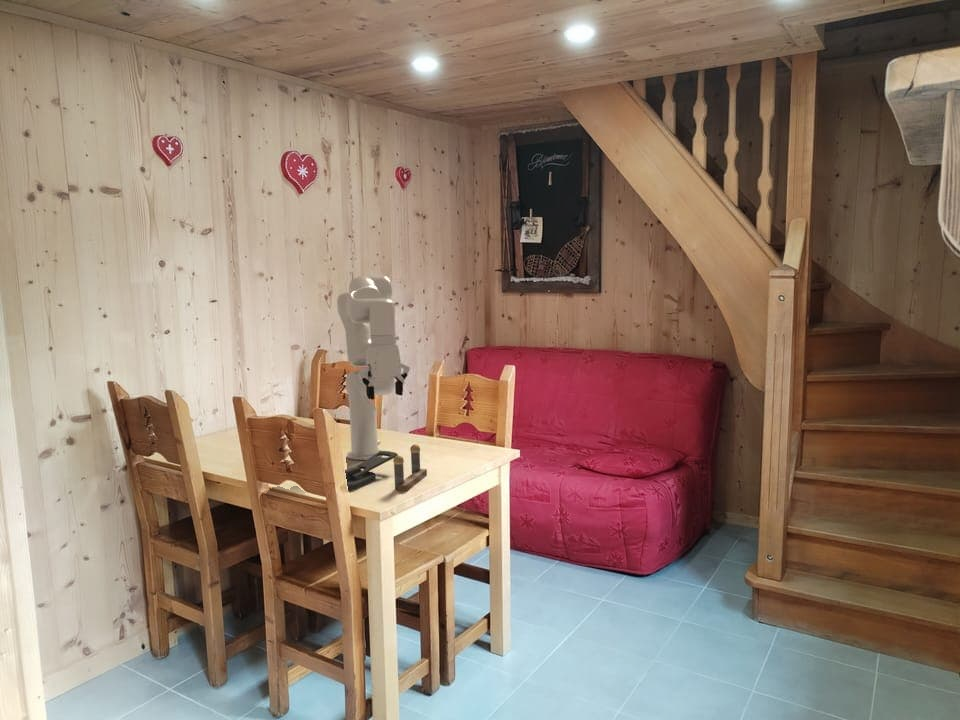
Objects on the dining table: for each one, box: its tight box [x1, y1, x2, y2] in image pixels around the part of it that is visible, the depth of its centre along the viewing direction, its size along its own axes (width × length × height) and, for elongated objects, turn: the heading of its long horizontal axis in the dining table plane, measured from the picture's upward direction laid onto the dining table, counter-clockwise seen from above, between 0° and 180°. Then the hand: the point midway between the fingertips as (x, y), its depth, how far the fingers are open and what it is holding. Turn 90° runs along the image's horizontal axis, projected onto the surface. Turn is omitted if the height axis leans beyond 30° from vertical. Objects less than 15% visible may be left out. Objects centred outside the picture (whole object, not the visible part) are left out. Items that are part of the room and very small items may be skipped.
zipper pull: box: [344, 450, 399, 492], centre depth 215 cm, size 9×7×25 cm
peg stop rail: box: [392, 444, 428, 493], centre depth 210 cm, size 18×5×11 cm, turn 164°
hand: (385, 396), depth 203 cm, fingers open, 9 cm apart
